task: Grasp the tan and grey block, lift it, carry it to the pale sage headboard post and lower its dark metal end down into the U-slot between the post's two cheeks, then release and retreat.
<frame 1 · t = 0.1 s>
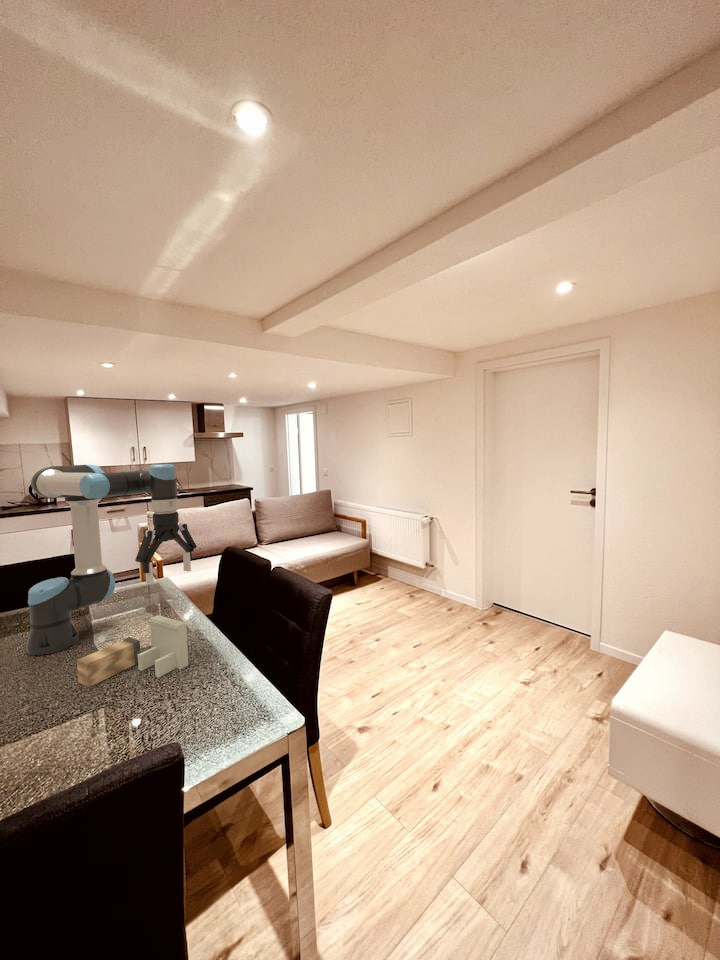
hand: (169, 576, 131), 28 cm above the table, fingers open, 13 cm apart
tan and grey block: (111, 671, 126), on the table
headboard: (161, 666, 128), on the table
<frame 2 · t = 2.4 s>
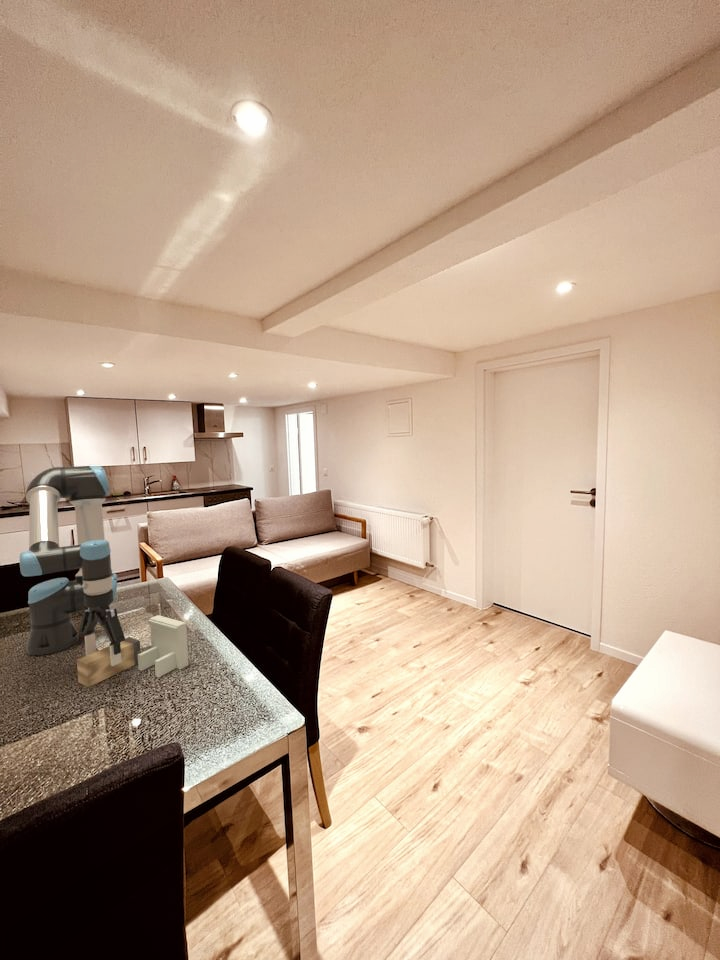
hand: (103, 659, 124), 5 cm above the table, fingers open, 13 cm apart
nothing on the table moved.
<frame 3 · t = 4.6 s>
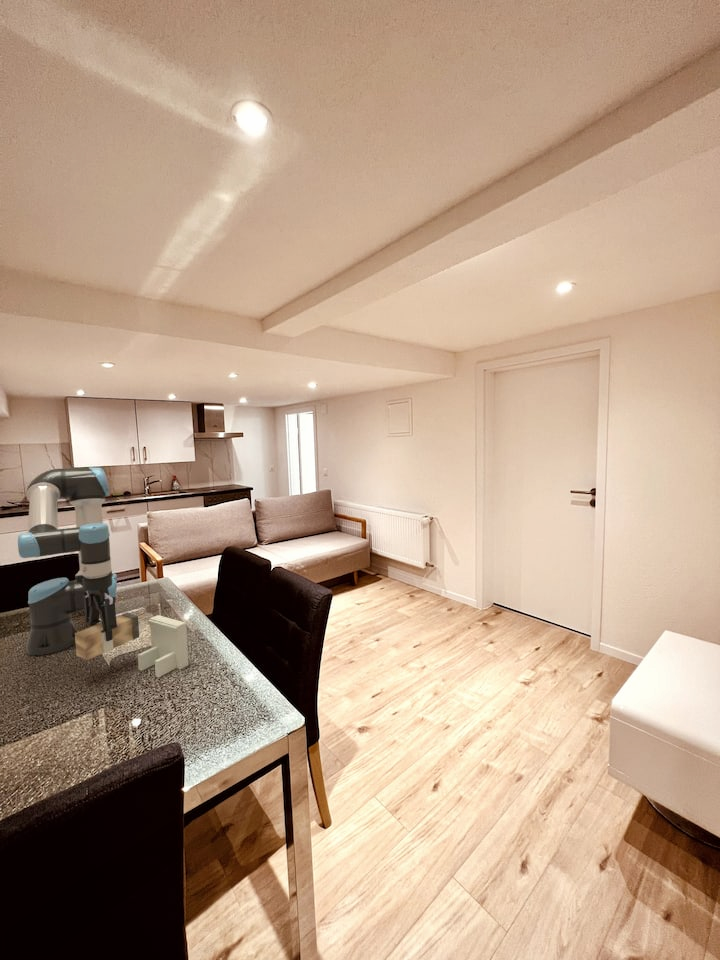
hand: (102, 647, 124), 8 cm above the table, fingers closed on tan and grey block, 5 cm apart
tan and grey block: (109, 645, 126), point 8 cm above the table, touching gripper
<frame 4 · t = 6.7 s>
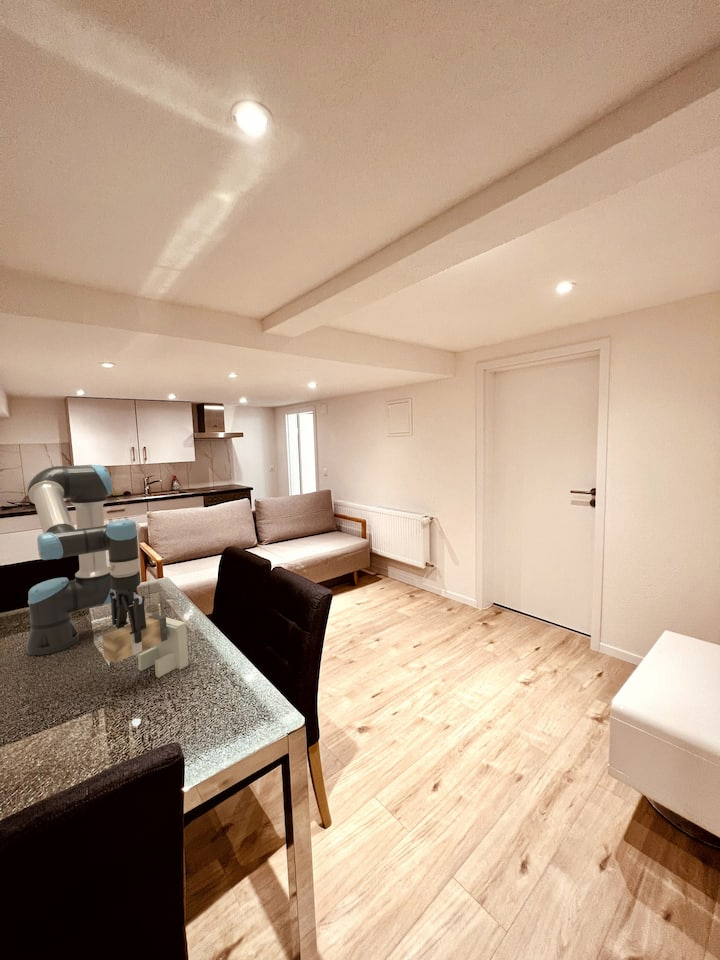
hand: (130, 650, 119), 10 cm above the table, fingers closed on tan and grey block, 5 cm apart
tan and grey block: (137, 648, 121), point 9 cm above the table, touching gripper
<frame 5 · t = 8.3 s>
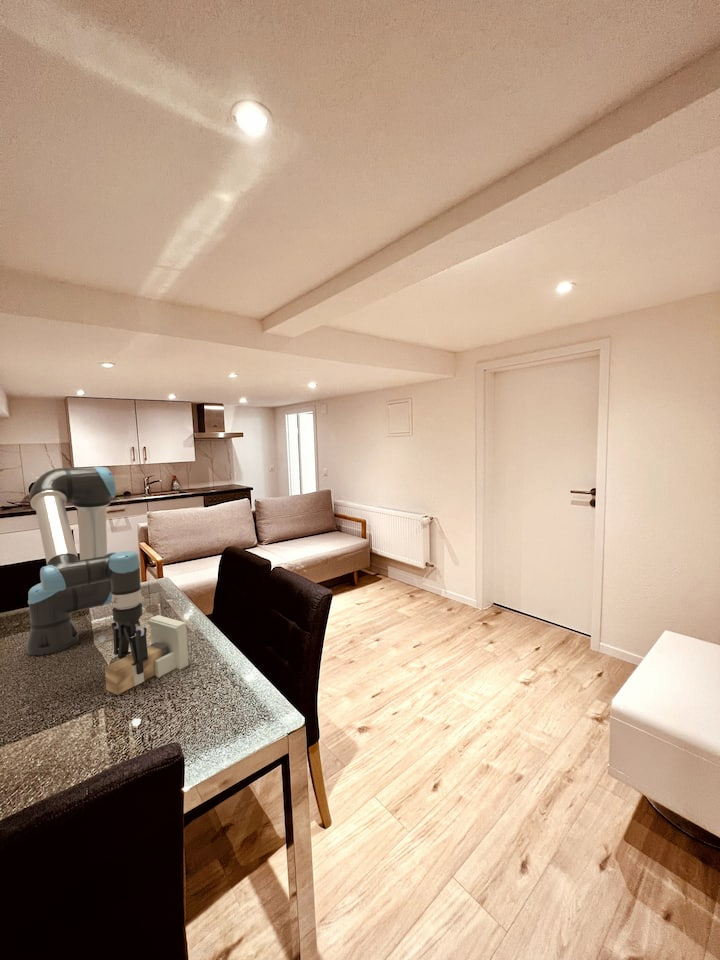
hand: (132, 680, 120), 0 cm above the table, fingers closed on tan and grey block, 5 cm apart
tan and grey block: (138, 678, 122), on the table, touching gripper
when the fingers open (0 cm above the table, at t = 8.9 s): tan and grey block stays where it is, on the table.
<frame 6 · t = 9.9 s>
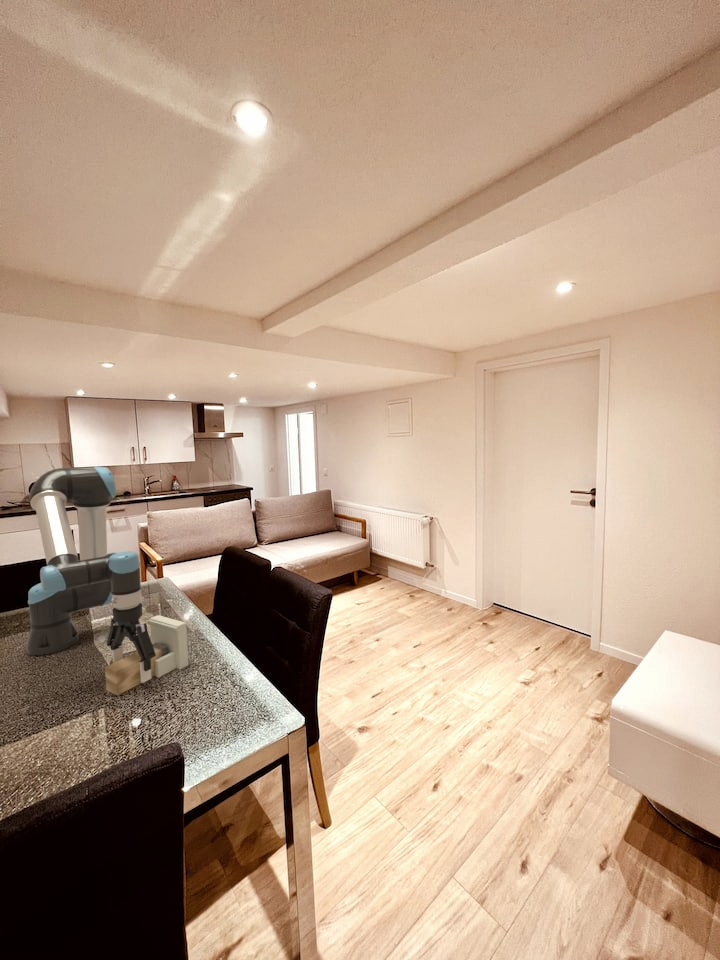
hand: (132, 674, 120), 2 cm above the table, fingers open, 13 cm apart
tan and grey block: (139, 678, 122), on the table
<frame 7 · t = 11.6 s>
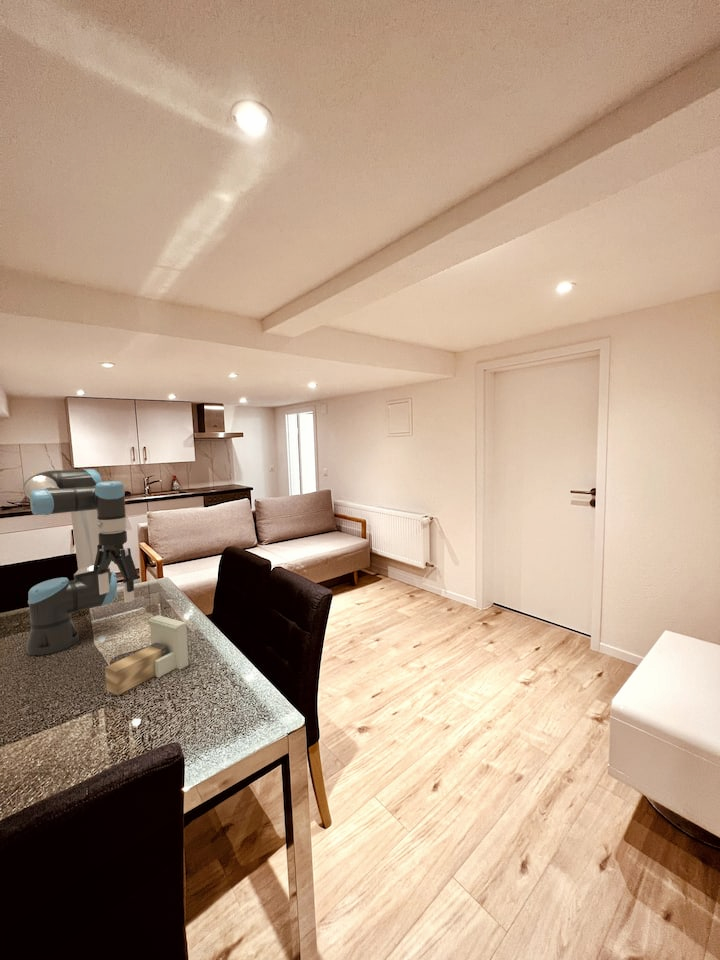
hand: (116, 597, 127), 23 cm above the table, fingers open, 13 cm apart
nothing on the table moved.
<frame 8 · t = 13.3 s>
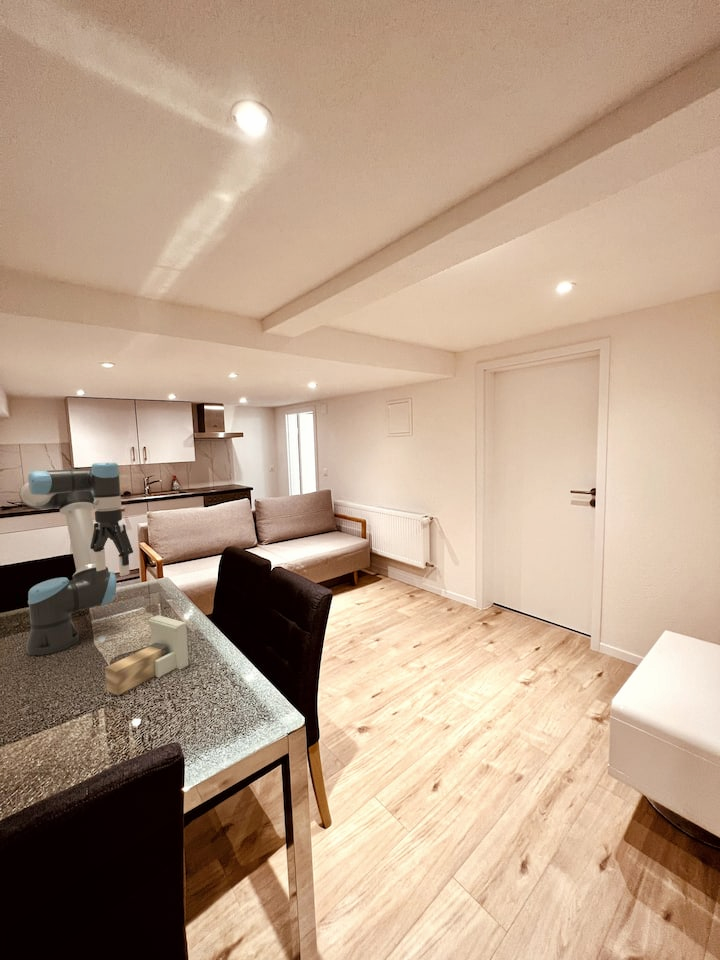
hand: (112, 572, 134), 29 cm above the table, fingers open, 13 cm apart
nothing on the table moved.
at the end: tan and grey block 0.5 cm from the target spot, on the table; tan and grey block tilted 0°; the gripper is holding nothing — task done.
